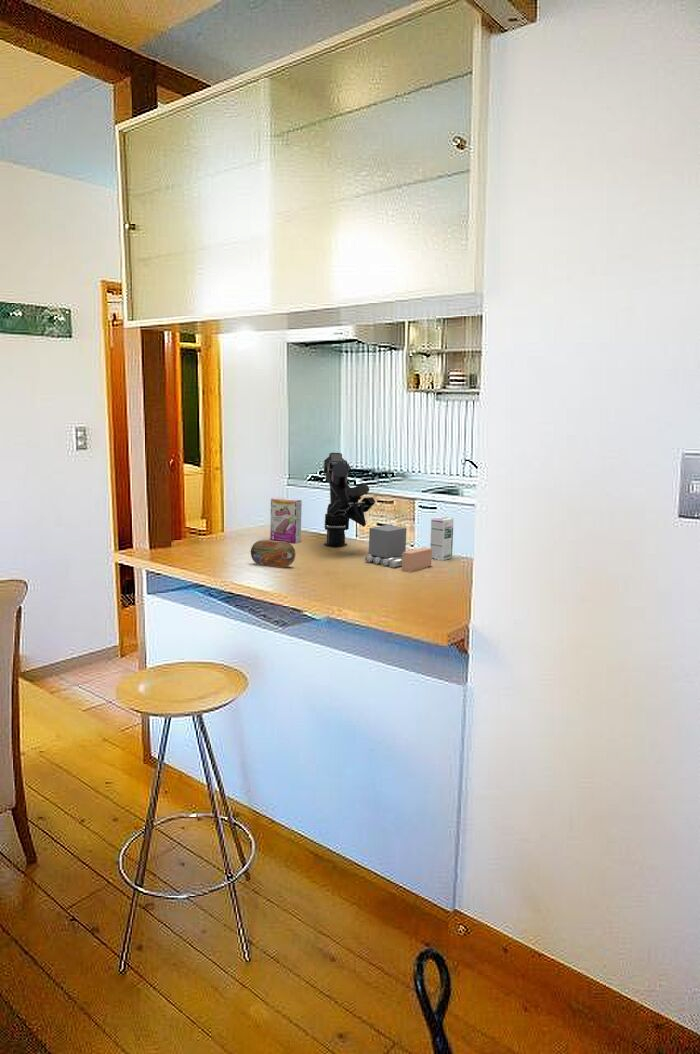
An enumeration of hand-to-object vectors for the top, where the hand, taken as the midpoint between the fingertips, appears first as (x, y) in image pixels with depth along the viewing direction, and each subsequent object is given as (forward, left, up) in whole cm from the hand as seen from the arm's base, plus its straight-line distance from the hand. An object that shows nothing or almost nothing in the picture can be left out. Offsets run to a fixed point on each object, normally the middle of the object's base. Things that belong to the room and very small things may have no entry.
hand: (364, 525), depth 246 cm
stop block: (+23, 0, -11) cm, 26 cm away
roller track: (+12, 0, -11) cm, 17 cm away
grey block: (+10, 0, -8) cm, 13 cm away
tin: (-11, -33, -11) cm, 36 cm away
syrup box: (+19, +19, -11) cm, 30 cm away
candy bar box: (-39, -2, -11) cm, 40 cm away
